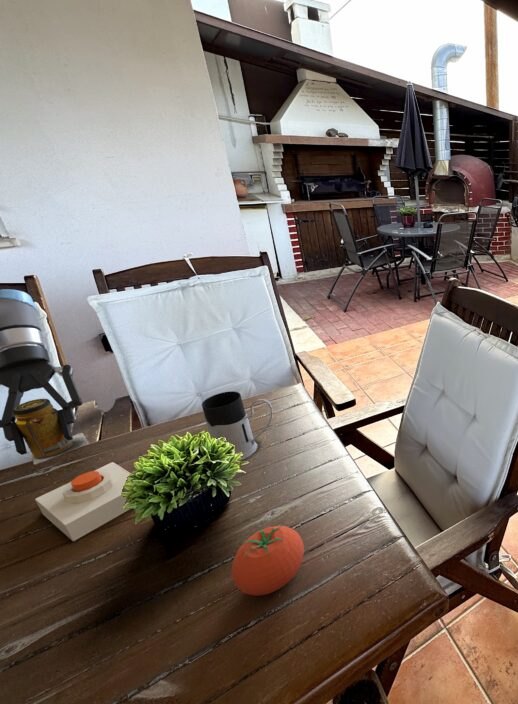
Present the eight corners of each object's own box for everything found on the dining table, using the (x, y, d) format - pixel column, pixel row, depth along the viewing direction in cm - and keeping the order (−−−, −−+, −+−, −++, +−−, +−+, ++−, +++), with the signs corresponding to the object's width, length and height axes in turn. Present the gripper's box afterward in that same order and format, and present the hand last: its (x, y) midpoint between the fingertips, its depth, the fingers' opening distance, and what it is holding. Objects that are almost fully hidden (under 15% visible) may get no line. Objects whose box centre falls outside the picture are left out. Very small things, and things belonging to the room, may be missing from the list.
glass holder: (223, 444, 101) (207, 392, 95) (285, 435, 104) (273, 385, 99) (208, 467, 93) (190, 412, 88) (276, 456, 96) (263, 403, 91)
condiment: (29, 452, 88) (4, 406, 84) (82, 433, 95) (62, 389, 90) (34, 465, 84) (9, 417, 80) (90, 444, 91) (69, 399, 86)
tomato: (321, 563, 70) (311, 520, 67) (269, 620, 61) (254, 574, 58) (280, 544, 74) (268, 502, 70) (224, 595, 65) (208, 551, 61)
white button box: (43, 515, 80) (30, 491, 78) (119, 476, 90) (109, 455, 88) (73, 542, 74) (60, 517, 72) (151, 497, 84) (142, 475, 82)
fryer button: (70, 488, 79) (67, 481, 79) (97, 475, 83) (93, 468, 82) (79, 494, 78) (76, 487, 77) (106, 481, 81) (103, 474, 80)
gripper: (85, 347, 99) (111, 430, 94) (-38, 372, 86) (-17, 471, 81) (77, 333, 94) (103, 421, 88) (-57, 358, 81) (-35, 462, 76)
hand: (45, 444), depth 85 cm, fingers closed on condiment, 6 cm apart
